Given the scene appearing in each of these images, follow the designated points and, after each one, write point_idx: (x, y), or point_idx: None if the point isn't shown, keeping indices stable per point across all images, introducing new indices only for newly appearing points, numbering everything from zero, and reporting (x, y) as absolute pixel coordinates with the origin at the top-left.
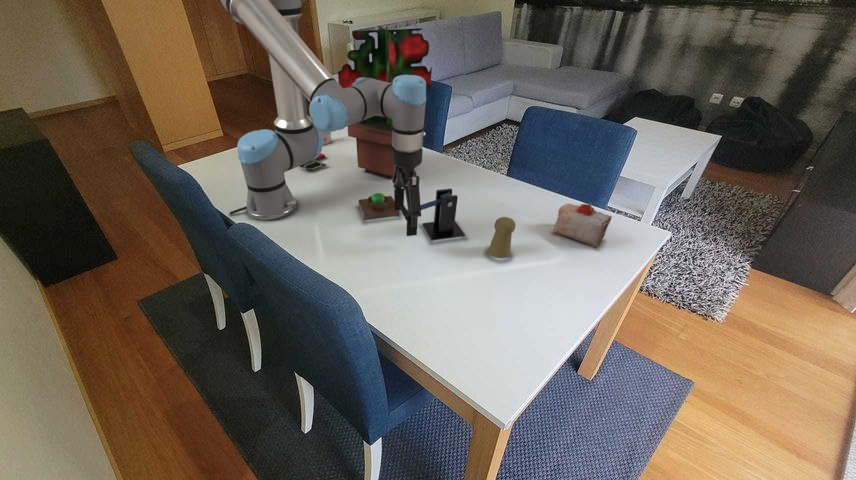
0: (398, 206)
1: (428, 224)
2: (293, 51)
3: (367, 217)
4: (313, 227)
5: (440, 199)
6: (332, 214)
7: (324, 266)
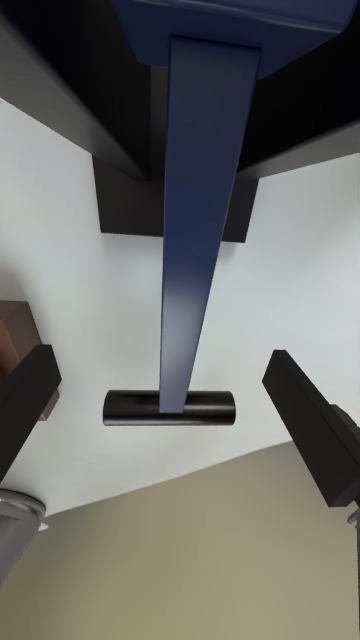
0: (46, 383)
1: (117, 205)
2: None
3: (48, 404)
4: (75, 469)
5: (216, 74)
6: None
7: (213, 462)
